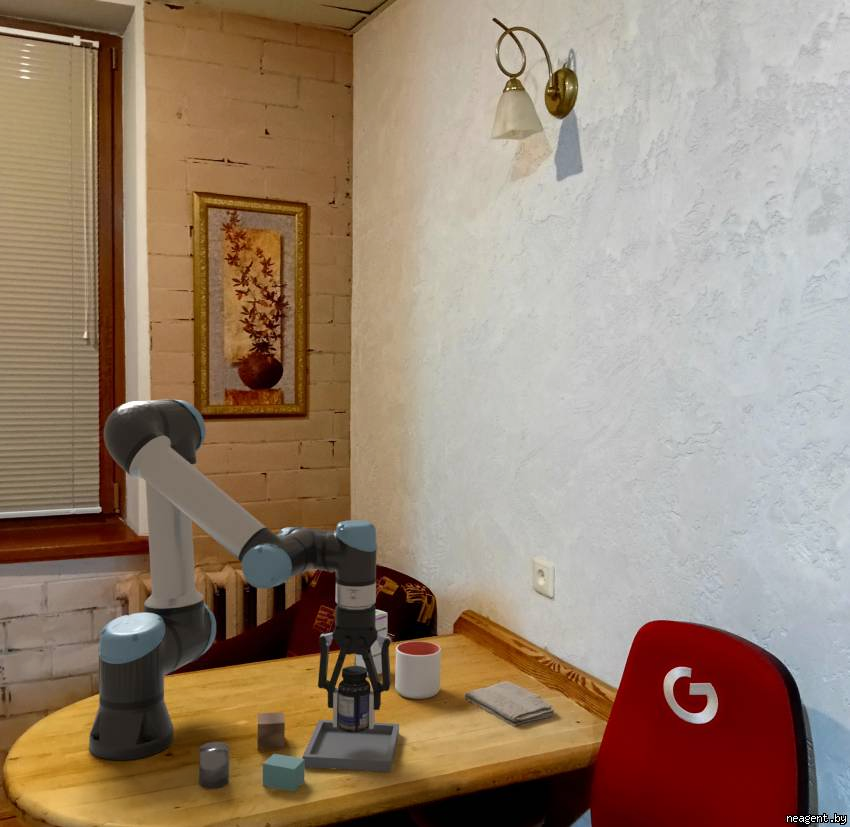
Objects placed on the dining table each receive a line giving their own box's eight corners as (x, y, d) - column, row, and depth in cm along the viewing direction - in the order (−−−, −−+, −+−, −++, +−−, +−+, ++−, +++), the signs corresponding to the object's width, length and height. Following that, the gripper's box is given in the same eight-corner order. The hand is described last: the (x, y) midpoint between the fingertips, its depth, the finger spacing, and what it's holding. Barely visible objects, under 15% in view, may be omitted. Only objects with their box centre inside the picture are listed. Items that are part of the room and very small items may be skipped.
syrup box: (387, 671, 204) (389, 611, 203) (370, 678, 200) (371, 616, 199) (370, 665, 208) (371, 606, 207) (352, 672, 204) (354, 611, 203)
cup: (435, 703, 186) (436, 657, 186) (390, 698, 188) (391, 653, 188) (443, 686, 196) (444, 643, 195) (400, 682, 198) (401, 639, 197)
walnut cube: (257, 750, 162) (257, 724, 162) (257, 738, 167) (257, 713, 167) (284, 748, 163) (284, 722, 163) (283, 737, 168) (284, 712, 168)
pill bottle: (365, 718, 166) (366, 662, 166) (373, 731, 161) (375, 673, 160) (334, 722, 164) (335, 665, 164) (341, 735, 159) (342, 677, 158)
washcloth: (516, 731, 174) (516, 716, 174) (461, 701, 189) (462, 687, 189) (558, 718, 181) (559, 704, 181) (503, 690, 196) (503, 677, 195)
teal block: (262, 786, 149) (262, 763, 148) (273, 775, 152) (273, 753, 152) (294, 792, 147) (294, 769, 147) (304, 781, 151) (304, 759, 150)
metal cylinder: (195, 788, 147) (195, 753, 147) (204, 774, 152) (204, 741, 152) (223, 789, 147) (224, 755, 146) (232, 775, 152) (232, 742, 151)
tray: (302, 767, 155) (302, 756, 155) (318, 729, 171) (319, 719, 171) (390, 772, 154) (390, 761, 154) (399, 733, 170) (399, 723, 170)
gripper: (301, 608, 158) (299, 731, 159) (404, 611, 157) (402, 735, 158) (309, 597, 166) (307, 714, 167) (408, 600, 164) (406, 719, 166)
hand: (353, 724), depth 163 cm, fingers closed on pill bottle, 6 cm apart
